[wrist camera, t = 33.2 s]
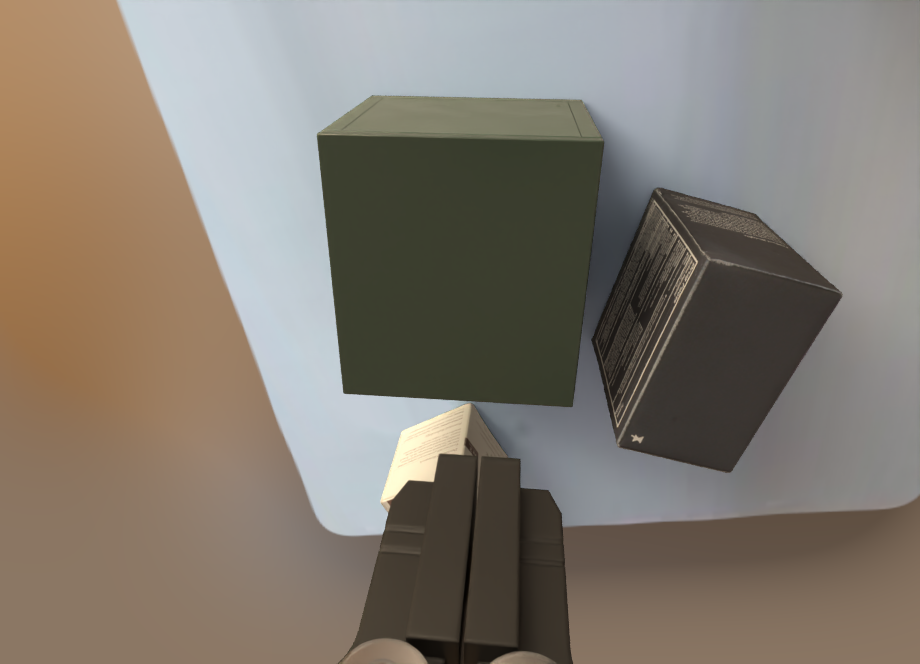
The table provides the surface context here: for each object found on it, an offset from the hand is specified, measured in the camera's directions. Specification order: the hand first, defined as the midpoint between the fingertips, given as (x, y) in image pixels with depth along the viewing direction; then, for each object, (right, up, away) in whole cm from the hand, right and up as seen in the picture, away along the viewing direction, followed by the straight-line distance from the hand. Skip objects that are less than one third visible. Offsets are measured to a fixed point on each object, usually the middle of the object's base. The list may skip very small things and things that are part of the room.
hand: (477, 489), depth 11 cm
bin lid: (0, +5, +15) cm, 16 cm away
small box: (+12, +6, +25) cm, 28 cm away
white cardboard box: (-1, -5, +33) cm, 33 cm away
